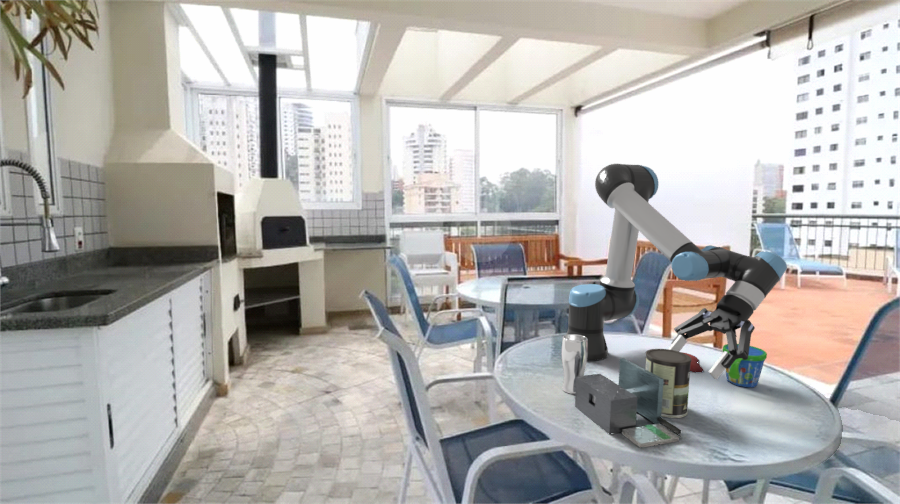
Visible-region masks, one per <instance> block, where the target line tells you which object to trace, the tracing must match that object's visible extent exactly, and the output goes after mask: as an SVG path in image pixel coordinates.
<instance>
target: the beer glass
mask: <svg viewBox="0 0 900 504" xmlns="http://www.w3.org/2000/svg"><path fill="white" fill-rule="evenodd" d="M566 334H567V333H566ZM566 334H565V335H562V342H561V364H562V369H563V370H562V371H563V381H562V384H561V389H562V391H563V392H564V393H566V394H570V395H576V377H577V376H585V372H586V366H587V363H588V360H587V357H588V341H587V340H588V339H587V337H585V336H582V335H577V334H567V335H566Z"/></svg>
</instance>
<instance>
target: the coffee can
mask: <svg viewBox="0 0 900 504" xmlns="http://www.w3.org/2000/svg"><path fill="white" fill-rule="evenodd" d="M684 353H685V352H683V353H682V351H674V350H669V348H651V349H648V350H646V351H645V368H644V369H646V370H648V371H649V372H651V373H653V374H655V375H657V376H659V377H661V378H663V379H664V381H663V396H662V411H661V417H662V418H668V419H680V418H684V417H686V416H688V409H689V408H688V404H689V391H690V390H689V389H690V378H691V377H690V375H691V372H690V364H691V360H692V359H691V357H690V356H688V355H687V354H684Z"/></svg>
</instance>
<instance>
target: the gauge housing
mask: <svg viewBox="0 0 900 504" xmlns="http://www.w3.org/2000/svg"><path fill="white" fill-rule="evenodd" d="M574 395H575V397H574V399H575V401H574V407H575V408H576V409H577V410H579V411H580V412H581V413H582V414H583V415H585V416H586V417H587V418H588V419H590V420H591V421H592V422H593V423H594V424H596V425H597V426H598V425H599V426H600V429H602V430H603V429H604V430H605V431H604V430H603V431H604V432H606V433H607V432H608V433H609V434H608V433H607V434H608V435H612V434H611V433H615V434H620V433H621V434H622V435H623V436H625V438H627V439H628V440H630V441H631V442H632V443H633V444H634V445H636V446H637V447H638V446H639V448H640V449H642V448H641V447H644V448H648V447H654V445H655V446H659V445H658V444H660V445H665V444H670V443H676V442H679V441H680V437H682V436H681V434H677V433H676V432H674V431H673V430H671V429H670V428H668V427H667V426H665V425H664V424H662V423H660V424H655V423H653V424H651V423H650V424H645V425H642V426H637V424H636V423H637V396H635V395H633V394H632V393H630V392H629V391H627V390H625V389H624V388H622V387H621V386H619V384H618V383H616V382H614V381H612V380H611V379H610V378H608V377H607V376H604V375H603V374H601V373H596V374H595V373H593V374H586V375H585V374H584V376H577V377H576V394H574ZM592 396H595V403H594V402H592ZM599 426H598V427H599Z"/></svg>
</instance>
